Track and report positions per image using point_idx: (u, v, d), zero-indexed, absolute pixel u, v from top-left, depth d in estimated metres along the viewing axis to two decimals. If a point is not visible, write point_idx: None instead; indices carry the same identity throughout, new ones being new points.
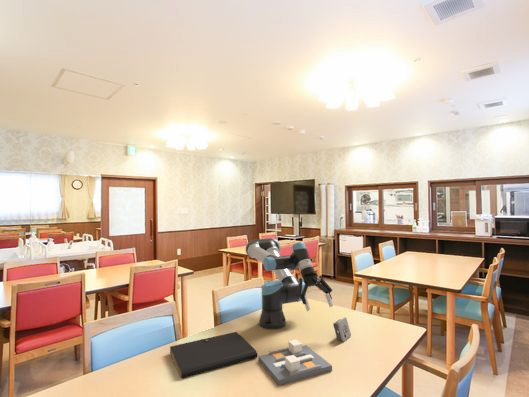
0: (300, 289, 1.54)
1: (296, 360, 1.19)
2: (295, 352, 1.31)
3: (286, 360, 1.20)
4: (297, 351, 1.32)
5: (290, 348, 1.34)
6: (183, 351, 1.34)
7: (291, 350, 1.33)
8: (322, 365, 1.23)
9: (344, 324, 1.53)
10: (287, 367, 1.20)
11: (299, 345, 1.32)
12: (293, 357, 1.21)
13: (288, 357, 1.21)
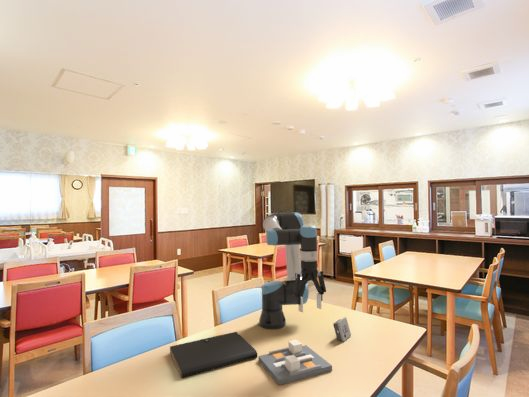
0: (297, 288, 1.34)
1: (296, 360, 1.19)
2: (295, 352, 1.31)
3: (286, 360, 1.20)
4: (297, 351, 1.32)
5: (290, 348, 1.34)
6: (183, 351, 1.34)
7: (291, 350, 1.33)
8: (322, 365, 1.23)
9: (344, 324, 1.53)
10: (287, 367, 1.20)
11: (299, 345, 1.32)
12: (293, 357, 1.21)
13: (288, 357, 1.21)
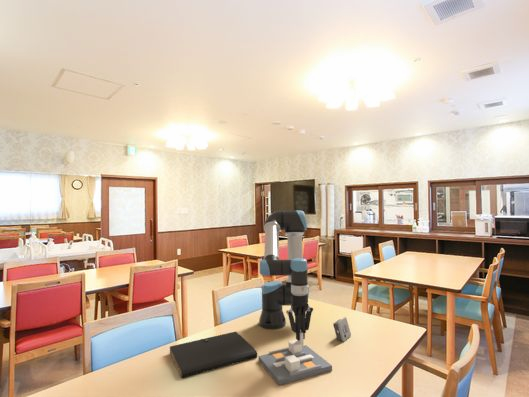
0: (294, 325, 1.33)
1: (296, 360, 1.19)
2: (295, 352, 1.31)
3: (286, 360, 1.20)
4: (297, 351, 1.32)
5: (290, 348, 1.34)
6: (183, 351, 1.34)
7: (291, 350, 1.33)
8: (322, 365, 1.23)
9: (344, 324, 1.53)
10: (287, 367, 1.20)
11: (299, 345, 1.32)
12: (293, 357, 1.21)
13: (288, 357, 1.21)
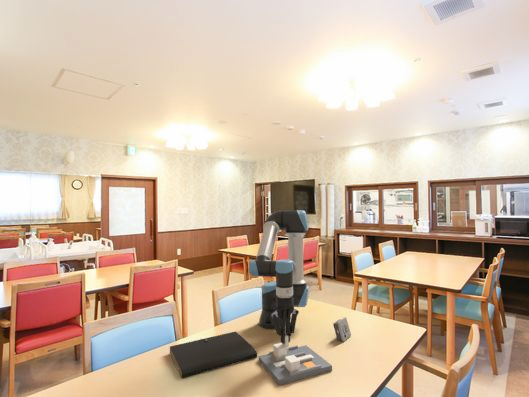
0: (278, 328, 1.30)
1: (296, 360, 1.19)
2: (279, 356, 1.28)
3: (286, 360, 1.20)
4: (282, 355, 1.29)
5: (275, 351, 1.31)
6: (183, 351, 1.34)
7: (276, 354, 1.30)
8: (322, 365, 1.23)
9: (344, 324, 1.53)
10: (287, 367, 1.20)
11: (283, 349, 1.29)
12: (293, 357, 1.21)
13: (288, 357, 1.21)
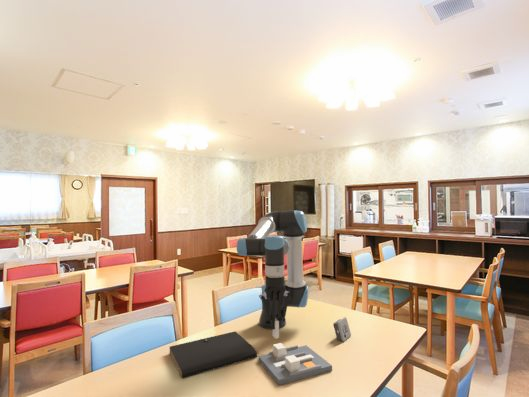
0: (267, 311, 1.15)
1: (296, 360, 1.19)
2: (279, 356, 1.28)
3: (286, 360, 1.20)
4: (281, 355, 1.29)
5: (274, 352, 1.31)
6: (183, 351, 1.34)
7: (275, 354, 1.30)
8: (322, 365, 1.23)
9: (344, 324, 1.53)
10: (287, 367, 1.20)
11: (283, 349, 1.29)
12: (293, 357, 1.21)
13: (288, 357, 1.21)
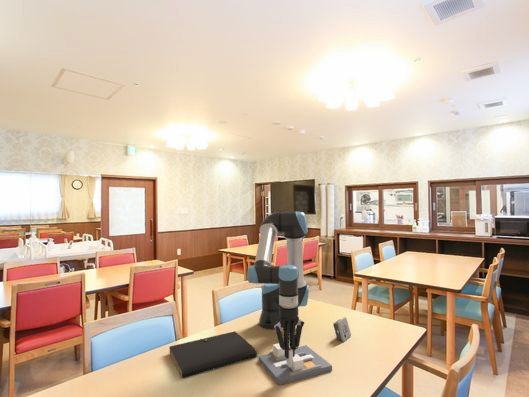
0: (282, 341, 1.17)
1: (300, 359, 1.19)
2: (279, 356, 1.28)
3: None
4: (281, 355, 1.29)
5: (274, 352, 1.31)
6: (183, 351, 1.34)
7: (275, 354, 1.30)
8: (322, 365, 1.23)
9: (344, 324, 1.53)
10: None
11: None
12: (296, 356, 1.22)
13: None
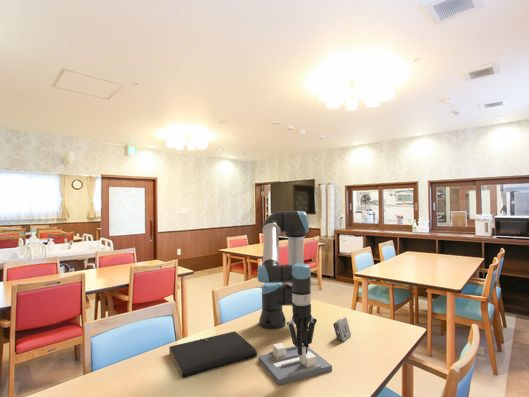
0: (295, 338, 1.20)
1: (312, 356, 1.22)
2: (279, 356, 1.28)
3: None
4: (281, 355, 1.29)
5: (274, 352, 1.31)
6: (183, 351, 1.34)
7: (275, 354, 1.30)
8: (322, 365, 1.23)
9: (344, 324, 1.53)
10: None
11: (283, 349, 1.29)
12: (309, 353, 1.24)
13: None
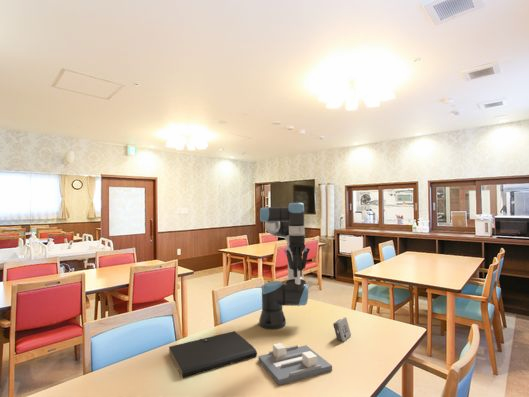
0: (291, 262, 1.44)
1: (313, 356, 1.22)
2: (279, 356, 1.28)
3: (303, 356, 1.24)
4: (281, 355, 1.29)
5: (274, 352, 1.31)
6: (183, 351, 1.35)
7: (275, 354, 1.30)
8: (322, 365, 1.23)
9: (344, 324, 1.53)
10: (304, 363, 1.23)
11: (283, 349, 1.29)
12: (310, 353, 1.25)
13: (305, 353, 1.24)
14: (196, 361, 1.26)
